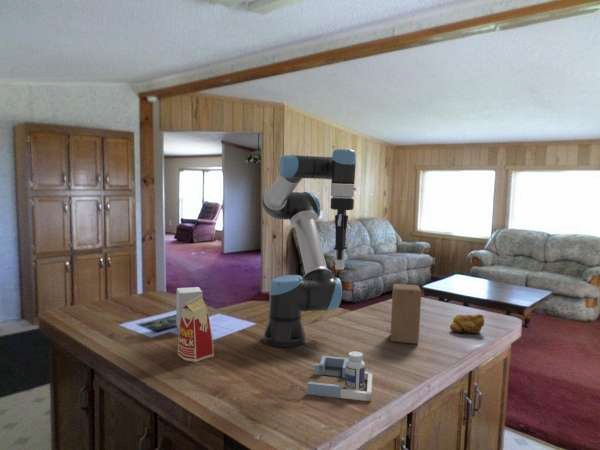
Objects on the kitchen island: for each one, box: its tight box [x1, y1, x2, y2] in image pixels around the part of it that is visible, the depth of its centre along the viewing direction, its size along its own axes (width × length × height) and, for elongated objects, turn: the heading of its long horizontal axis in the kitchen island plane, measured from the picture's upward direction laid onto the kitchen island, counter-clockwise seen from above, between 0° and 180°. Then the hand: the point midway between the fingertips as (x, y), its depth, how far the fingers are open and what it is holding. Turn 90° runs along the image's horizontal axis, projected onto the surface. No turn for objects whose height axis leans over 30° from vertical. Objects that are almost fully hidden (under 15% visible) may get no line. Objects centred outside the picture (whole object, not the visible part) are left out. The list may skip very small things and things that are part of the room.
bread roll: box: [449, 313, 485, 335], centre depth 180 cm, size 13×10×8 cm
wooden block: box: [390, 283, 422, 345], centre depth 168 cm, size 10×10×20 cm
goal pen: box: [340, 371, 373, 402], centre depth 127 cm, size 8×14×2 cm, turn 170°
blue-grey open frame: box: [306, 355, 349, 399], centre depth 131 cm, size 10×21×3 cm, turn 170°
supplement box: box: [175, 286, 204, 331], centre depth 175 cm, size 9×9×15 cm
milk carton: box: [177, 294, 215, 363], centre depth 146 cm, size 9×9×20 cm
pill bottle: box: [344, 350, 366, 391], centre depth 126 cm, size 5×5×10 cm
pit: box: [322, 366, 343, 378], centre depth 137 cm, size 6×7×1 cm
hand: (339, 268), depth 149 cm, fingers closed
